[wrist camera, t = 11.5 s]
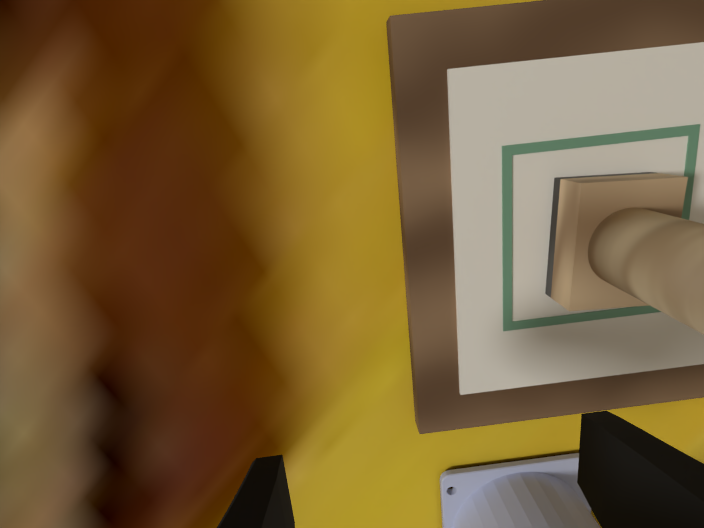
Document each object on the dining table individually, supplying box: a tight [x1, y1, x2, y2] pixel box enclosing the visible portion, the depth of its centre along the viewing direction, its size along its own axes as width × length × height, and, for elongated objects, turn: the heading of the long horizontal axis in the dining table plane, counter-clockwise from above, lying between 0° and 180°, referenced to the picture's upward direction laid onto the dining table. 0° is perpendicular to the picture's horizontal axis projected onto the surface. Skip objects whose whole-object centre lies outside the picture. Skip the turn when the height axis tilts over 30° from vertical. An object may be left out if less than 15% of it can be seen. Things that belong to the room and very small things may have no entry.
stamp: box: [545, 172, 704, 335], centre depth 16 cm, size 5×4×7 cm
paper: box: [447, 42, 704, 395], centre depth 19 cm, size 14×12×1 cm
